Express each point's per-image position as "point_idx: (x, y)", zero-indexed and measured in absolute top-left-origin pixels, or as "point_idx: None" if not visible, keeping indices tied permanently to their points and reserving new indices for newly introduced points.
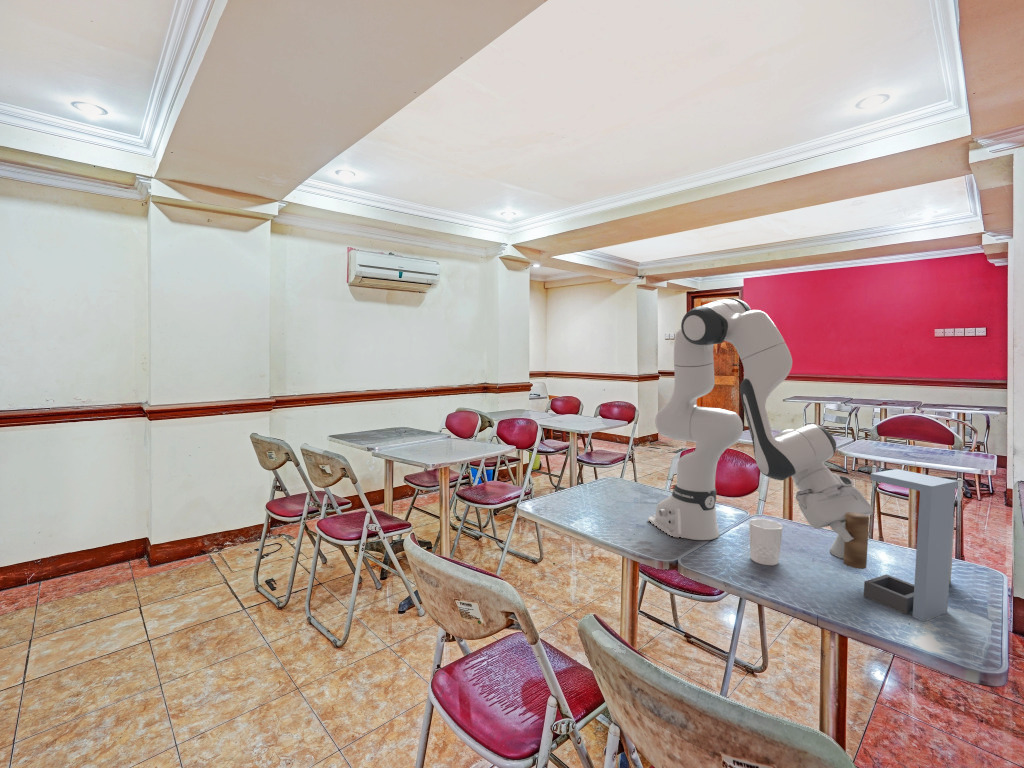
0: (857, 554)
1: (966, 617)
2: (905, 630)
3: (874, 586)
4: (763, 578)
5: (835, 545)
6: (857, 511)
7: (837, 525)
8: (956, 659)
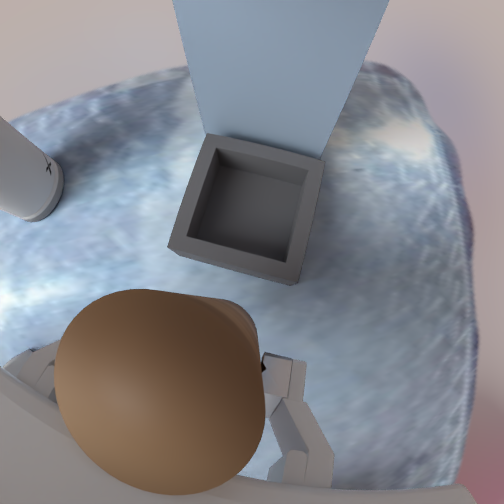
0: (253, 326)
1: None
2: (396, 171)
3: (305, 250)
4: (381, 484)
5: None
6: (9, 409)
7: (329, 465)
8: (417, 103)
